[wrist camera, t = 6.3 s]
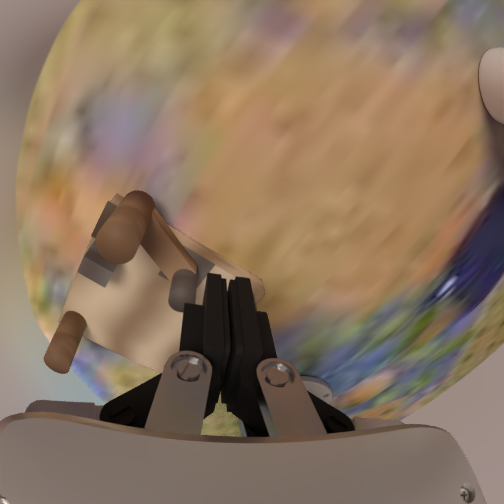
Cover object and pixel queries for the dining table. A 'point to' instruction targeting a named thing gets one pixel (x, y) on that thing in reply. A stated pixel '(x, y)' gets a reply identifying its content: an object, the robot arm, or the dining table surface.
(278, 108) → the dining table surface
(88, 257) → the stool
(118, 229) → the hinged leg
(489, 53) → the white paper cup
